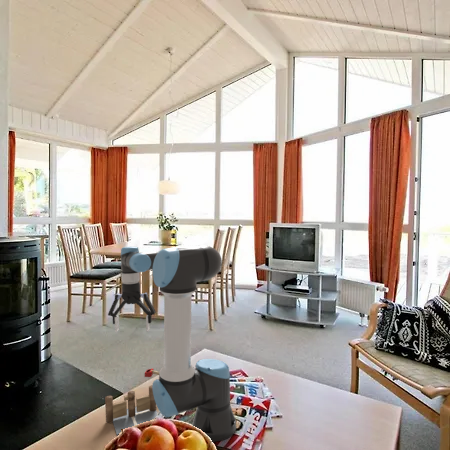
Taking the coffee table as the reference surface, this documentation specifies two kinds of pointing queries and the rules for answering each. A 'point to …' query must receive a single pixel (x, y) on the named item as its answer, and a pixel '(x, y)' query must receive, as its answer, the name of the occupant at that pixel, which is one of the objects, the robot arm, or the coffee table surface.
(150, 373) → the toy fire truck
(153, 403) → the fence fixed
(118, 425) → the board
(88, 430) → the coffee table surface
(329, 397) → the coffee table surface
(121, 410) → the fence flap
